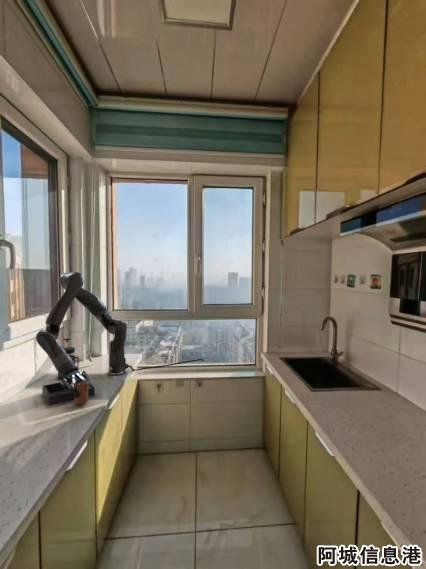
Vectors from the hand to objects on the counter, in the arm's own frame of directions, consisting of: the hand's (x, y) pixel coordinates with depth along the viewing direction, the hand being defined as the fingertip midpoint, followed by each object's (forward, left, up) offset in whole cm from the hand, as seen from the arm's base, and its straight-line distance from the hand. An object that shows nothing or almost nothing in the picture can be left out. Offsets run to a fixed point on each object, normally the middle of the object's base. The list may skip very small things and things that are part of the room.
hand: (84, 393), depth 130 cm
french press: (-3, -46, -6) cm, 47 cm away
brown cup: (+1, -1, -4) cm, 4 cm away
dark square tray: (+3, -17, -6) cm, 19 cm away
